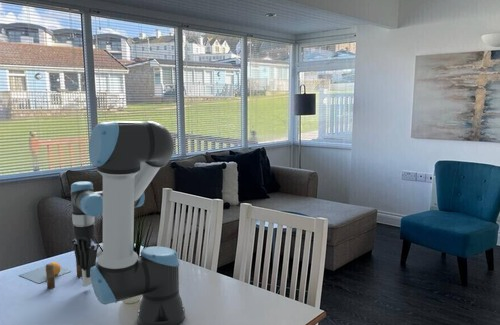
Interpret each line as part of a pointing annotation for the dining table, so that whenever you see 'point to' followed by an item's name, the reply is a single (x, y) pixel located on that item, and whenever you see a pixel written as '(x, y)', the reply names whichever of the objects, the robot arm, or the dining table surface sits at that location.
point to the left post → (50, 276)
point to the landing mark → (41, 274)
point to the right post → (78, 270)
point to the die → (99, 250)
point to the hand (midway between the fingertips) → (87, 284)
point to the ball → (56, 268)
